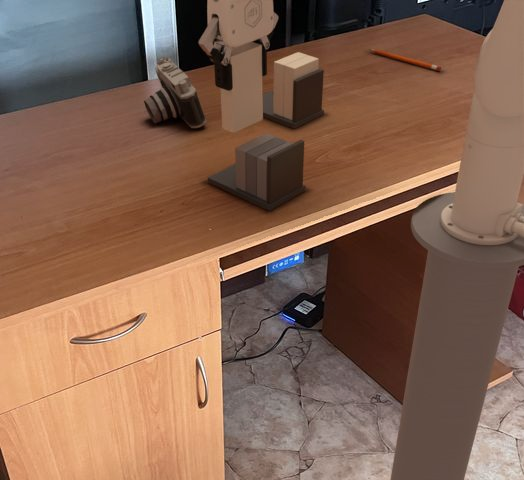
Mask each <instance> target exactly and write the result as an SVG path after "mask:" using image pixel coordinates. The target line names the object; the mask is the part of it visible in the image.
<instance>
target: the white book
mask: <svg viewBox="0 0 524 480" xmlns="http://www.w3.org/2000/svg"><path fill="white" fill-rule="evenodd" d="M220 52H221V51H220ZM221 53H222V54H223V51H222V52H221ZM229 64H232V80H233V88H232V90H230V91H228V90H225V89H222V88H219V90H220V107H221V109H220V110H221V127H222V130H225V131H227V132H230V133H232V134H234V133H238V132H239V131H242V130H243V129H246V128H247V127H249V126H252V125H254V124H256V123H258V122H260V121H262V120H264V117H263V94H264V93H263V76H262V45H260V44H257V43H253V42H249V43H247V44H244V45H241V46H239V47H233V49H232V52H231V56H230V59H229Z"/></svg>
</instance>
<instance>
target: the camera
mask: <svg viewBox="0 0 524 480" xmlns="http://www.w3.org/2000/svg"><path fill="white" fill-rule="evenodd" d="M156 62H157V64H156V65H155V66H154V69H155V73H156V76H157V78H158V80H159V83H160V85H161V86H160V89H159V90H157V91H156V92H154V94H151V95H149V97H148V98H146V99H144V100H143V104H144V106H145V109H146V112H147V113H148V116H149V117H150V119H151V121H152V122H153V123H154V124H155V125H156V124H158V123H160V122H164V121H166V120H171V119H173V118H174V119H178V118H181V119H183V121H184V122H185V123H186V124H187V125H188V126H189V127H190V128H191V129H198V128H201V127H203V126H204V125H205V124H206V123H207V118H206V116H205V113H204V111H203V108H202V105H201V102H200V99H199V96H198V92H197V89H196V88H195V86H193V85H192V83H191V80H190V78H189V76H188V75H187V74H186V73H185V72H184V71H183V70H182V69H181V68H179V66H177V64H176V63H174V61H172V59H171V58H168V57H166V56H163V57H159V58H158V59H157V60H156Z"/></svg>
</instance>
